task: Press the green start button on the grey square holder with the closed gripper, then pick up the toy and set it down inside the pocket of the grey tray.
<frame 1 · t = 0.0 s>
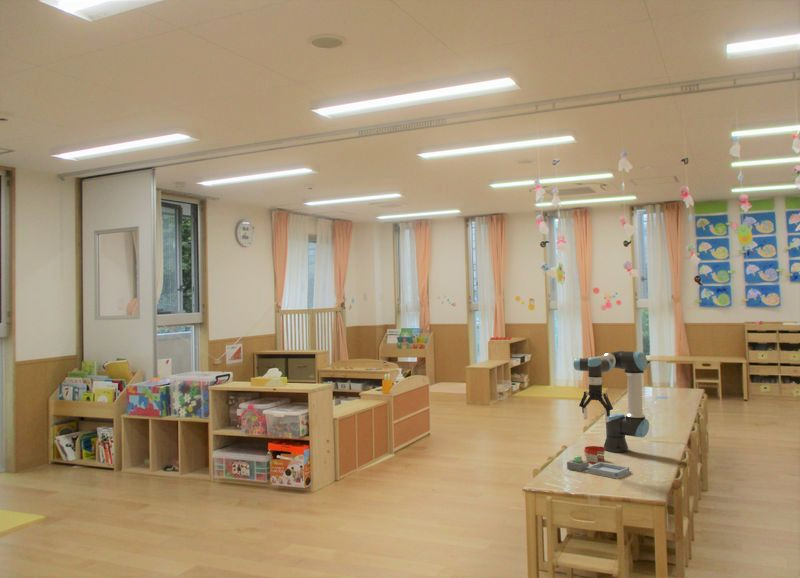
hand: (596, 420, 368), 28 cm above the table, fingers open, 13 cm apart
grey square holder: (578, 468, 368), on the table
grey tray: (608, 472, 359), on the table
button: (577, 460, 369), point 5 cm above the table, slide at 0.0 cm
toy: (593, 461, 385), on the table
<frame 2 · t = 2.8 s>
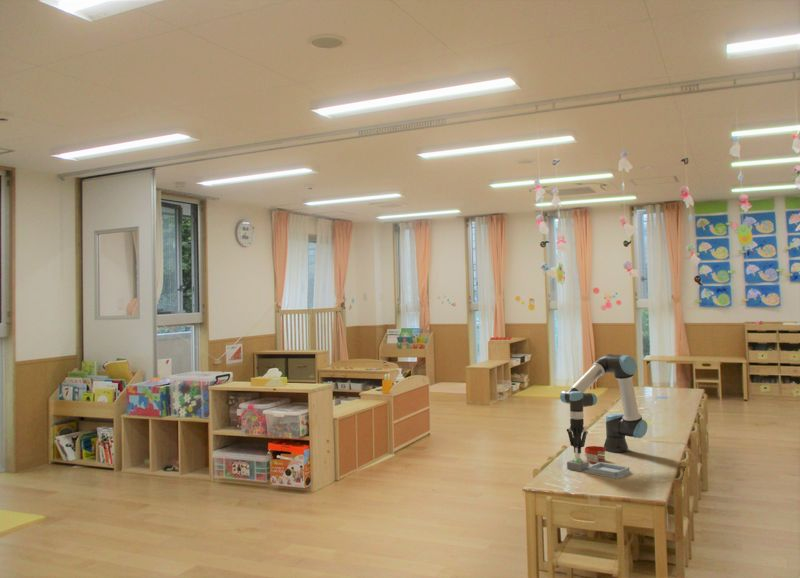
hand: (577, 458, 369), 6 cm above the table, fingers closed
button: (577, 462, 369), point 3 cm above the table, slide at 1.4 cm, touching gripper
everything else where it was.
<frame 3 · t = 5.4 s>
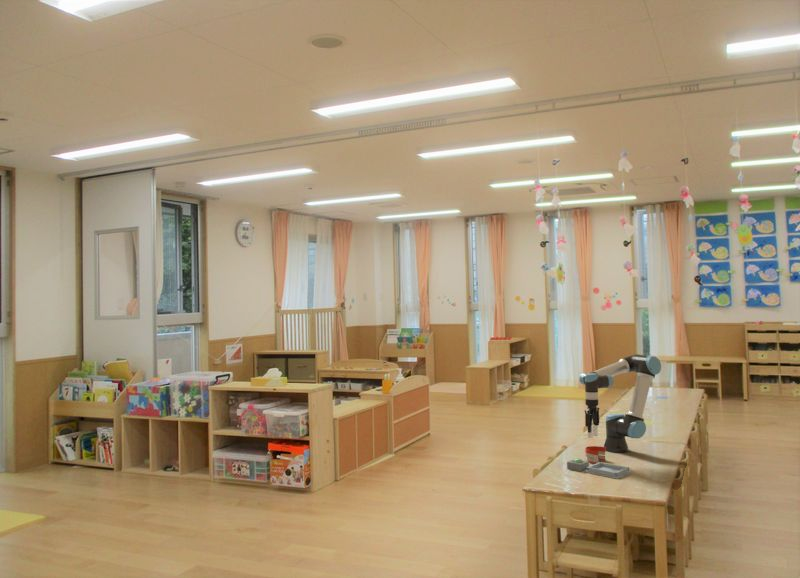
hand: (592, 436, 385), 15 cm above the table, fingers open, 5 cm apart
button: (577, 463, 369), point 3 cm above the table, slide at 1.6 cm
everything else where it was.
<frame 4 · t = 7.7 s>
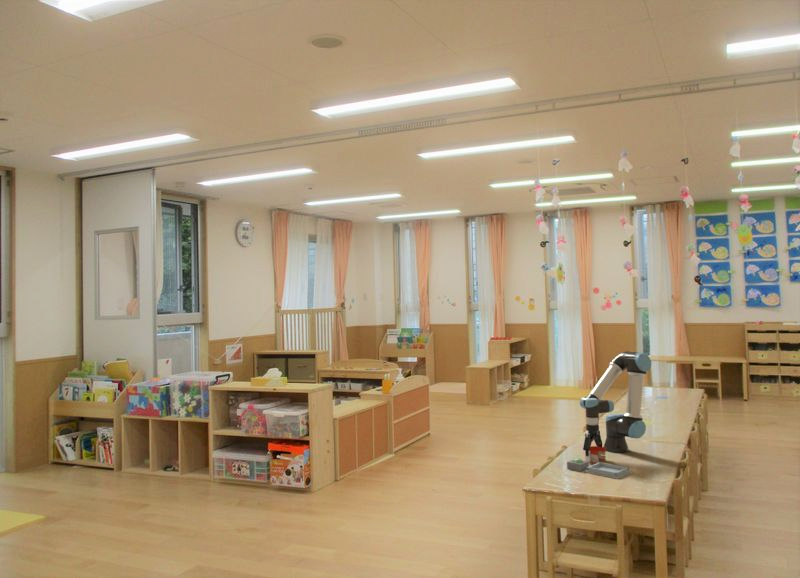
hand: (593, 459, 385), 1 cm above the table, fingers closed on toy, 12 cm apart
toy: (594, 461, 384), on the table, touching gripper
everything else where it was.
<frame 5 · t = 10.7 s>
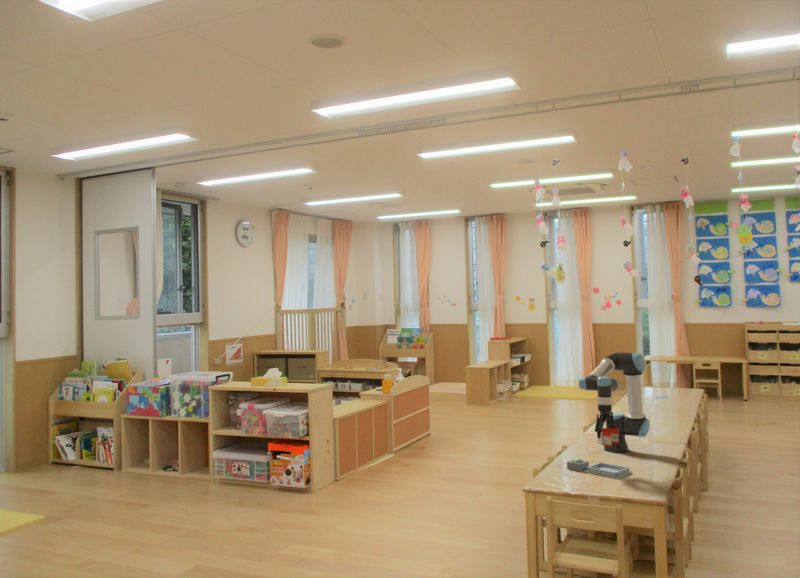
hand: (605, 442, 361), 17 cm above the table, fingers closed on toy, 12 cm apart
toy: (606, 444, 360), point 16 cm above the table, touching gripper
everything else where it was.
when the fingers open (5 cm above the table, at t = 13.7 s): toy drops 3 cm, resting on grey tray.
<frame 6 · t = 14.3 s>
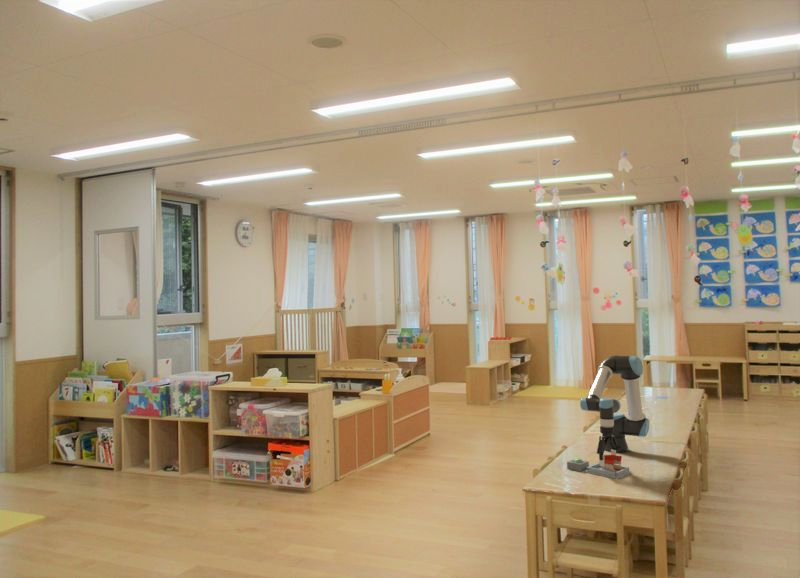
hand: (607, 463, 359), 5 cm above the table, fingers open, 13 cm apart
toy: (609, 471, 358), point 1 cm above the table, touching grey tray
everything else where it was.
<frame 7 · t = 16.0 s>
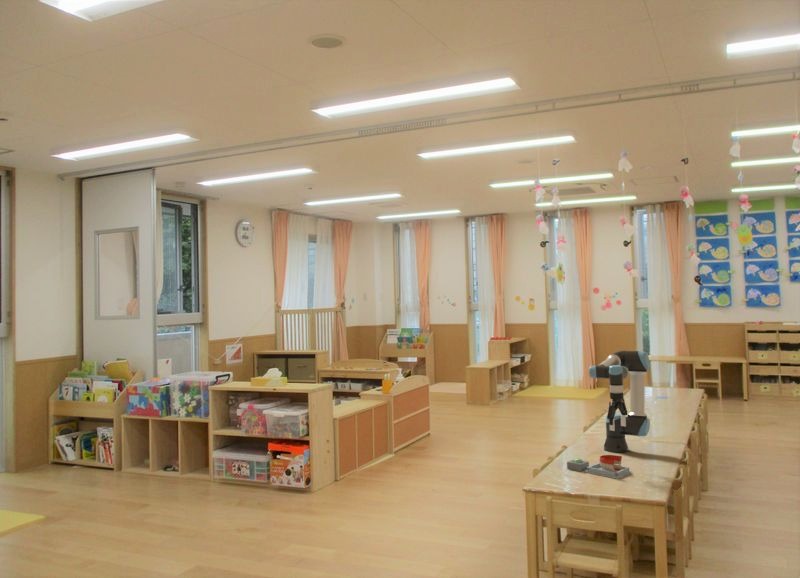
hand: (617, 428, 369), 23 cm above the table, fingers open, 13 cm apart
nothing on the table moved.
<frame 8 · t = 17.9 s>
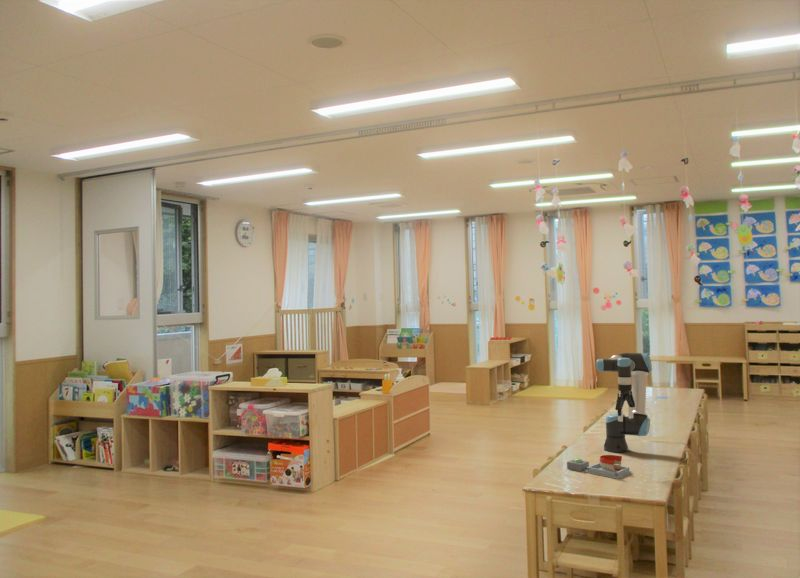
hand: (625, 419, 375), 27 cm above the table, fingers open, 13 cm apart
nothing on the table moved.
at the end: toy inside the target area on the grey tray (1.0 cm from its centre), point 0.8 cm above the grey tray's base; button slide at 1.6 cm; the gripper is holding nothing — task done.
